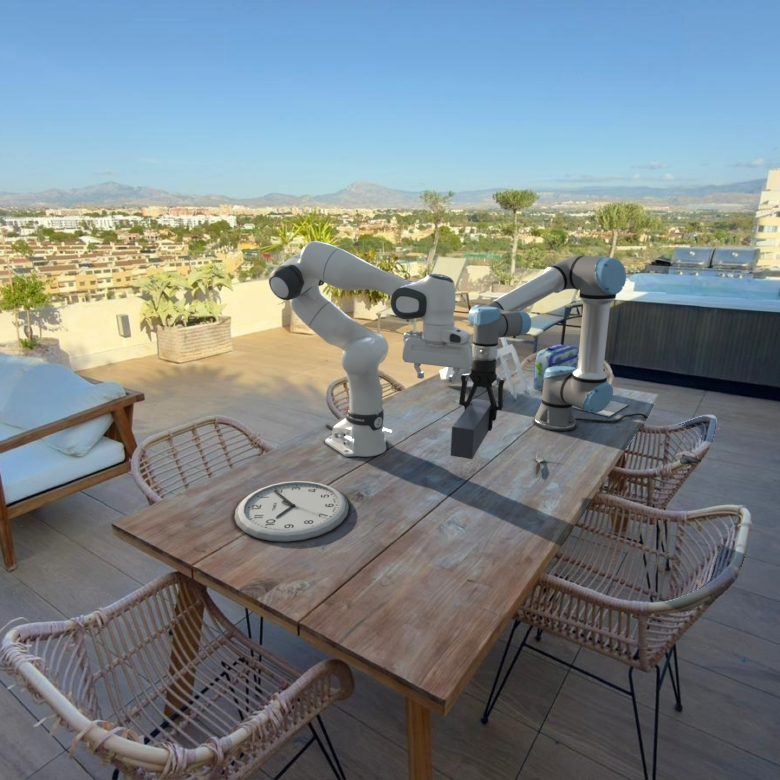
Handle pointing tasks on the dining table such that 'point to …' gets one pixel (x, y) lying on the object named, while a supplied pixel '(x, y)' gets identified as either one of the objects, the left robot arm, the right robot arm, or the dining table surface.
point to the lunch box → (553, 361)
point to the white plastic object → (502, 357)
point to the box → (470, 429)
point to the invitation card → (610, 408)
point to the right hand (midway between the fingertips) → (479, 427)
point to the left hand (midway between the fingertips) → (435, 380)
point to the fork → (539, 461)
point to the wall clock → (291, 511)
